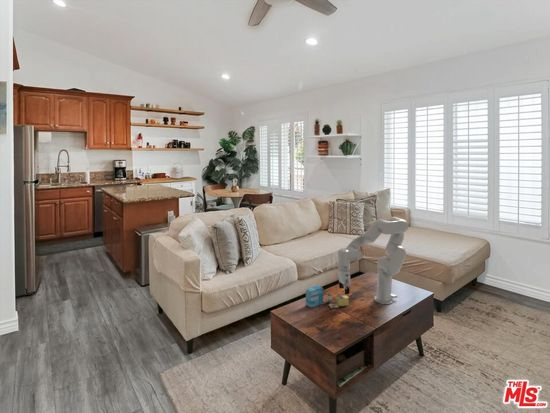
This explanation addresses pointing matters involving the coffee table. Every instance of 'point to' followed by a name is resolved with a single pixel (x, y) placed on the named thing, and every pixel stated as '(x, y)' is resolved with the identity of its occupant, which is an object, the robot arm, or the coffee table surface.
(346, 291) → the robot arm
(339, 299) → the yellow and grey block
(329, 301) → the shiny grey cylinder
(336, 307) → the beige striped flat block
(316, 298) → the data package
